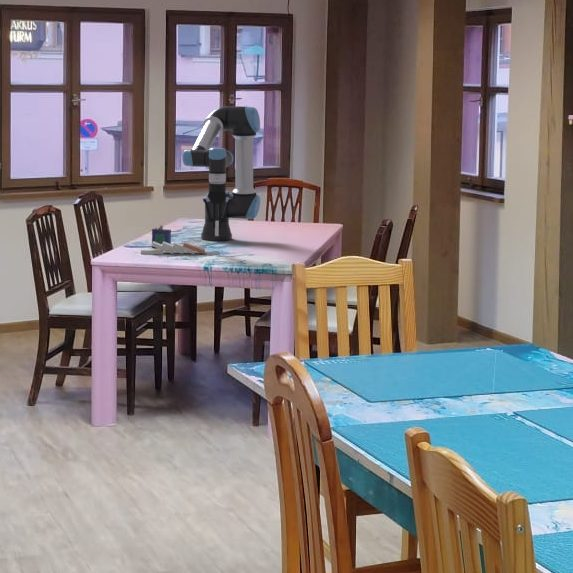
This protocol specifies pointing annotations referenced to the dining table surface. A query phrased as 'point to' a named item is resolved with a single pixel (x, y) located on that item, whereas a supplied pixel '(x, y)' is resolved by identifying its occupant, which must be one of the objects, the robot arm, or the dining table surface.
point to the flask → (161, 235)
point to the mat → (191, 253)
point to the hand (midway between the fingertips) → (216, 235)
